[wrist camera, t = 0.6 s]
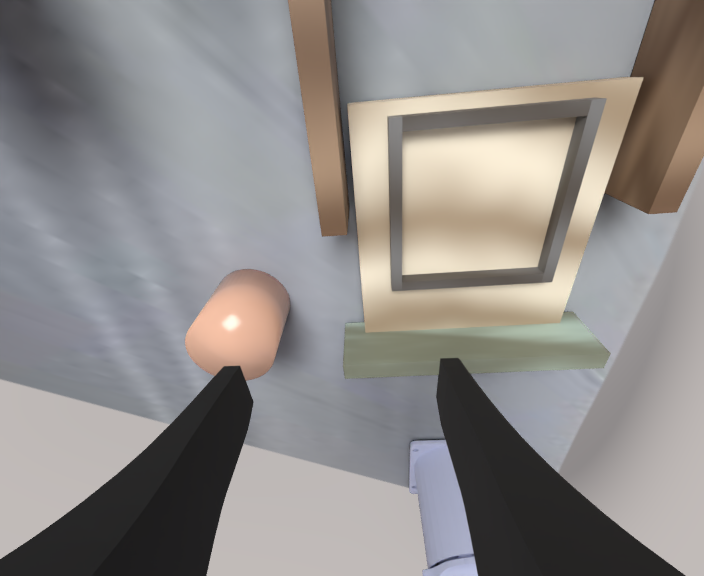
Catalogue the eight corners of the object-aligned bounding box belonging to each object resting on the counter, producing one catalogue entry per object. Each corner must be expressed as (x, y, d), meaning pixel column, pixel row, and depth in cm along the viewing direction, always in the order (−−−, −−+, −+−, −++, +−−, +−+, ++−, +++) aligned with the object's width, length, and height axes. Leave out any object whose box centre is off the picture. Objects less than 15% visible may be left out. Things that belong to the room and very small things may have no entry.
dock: (617, 186, 18) (676, 212, 15) (328, 208, 19) (322, 236, 16) (793, -305, 10) (1017, -502, 6) (274, -223, 11) (236, -357, 7)
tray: (567, 324, 23) (603, 368, 20) (347, 335, 24) (345, 378, 20) (656, 74, 15) (745, 73, 11) (319, 105, 16) (308, 114, 12)
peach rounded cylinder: (295, 325, 24) (282, 379, 20) (229, 329, 24) (202, 382, 20) (282, 266, 21) (263, 313, 17) (207, 271, 21) (171, 318, 17)
